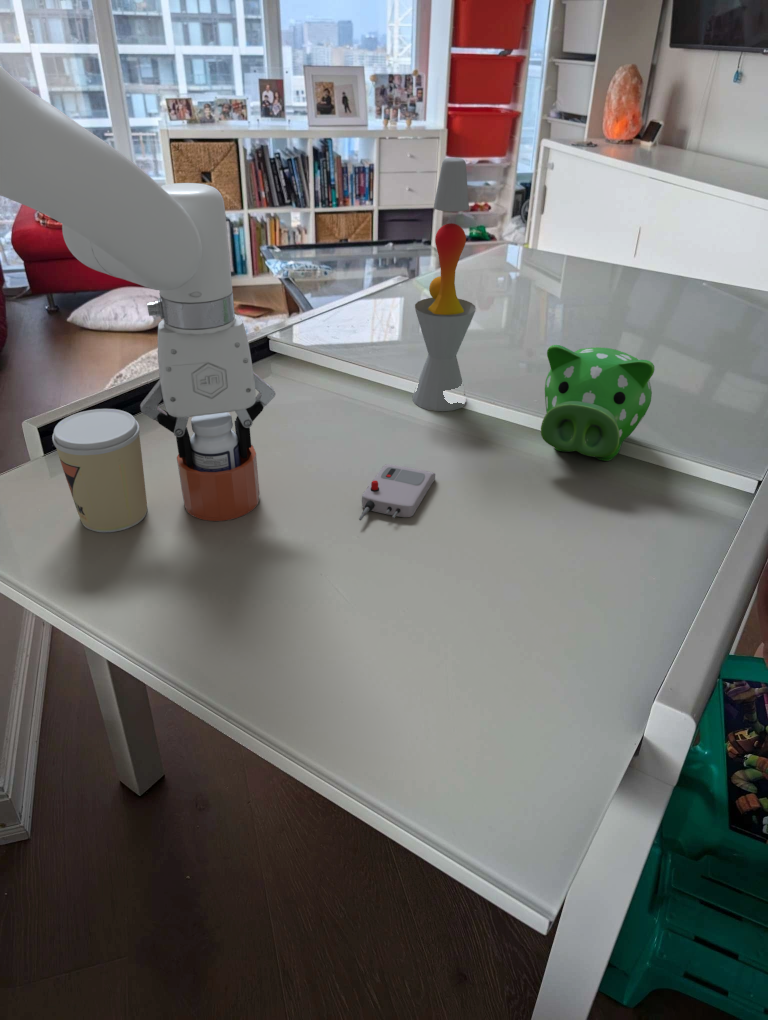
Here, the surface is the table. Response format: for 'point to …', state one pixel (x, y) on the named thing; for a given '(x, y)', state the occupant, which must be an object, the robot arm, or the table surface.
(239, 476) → the pen cup
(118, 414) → the coffee cup
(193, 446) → the pill bottle
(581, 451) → the piggy bank
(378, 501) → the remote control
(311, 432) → the table surface
